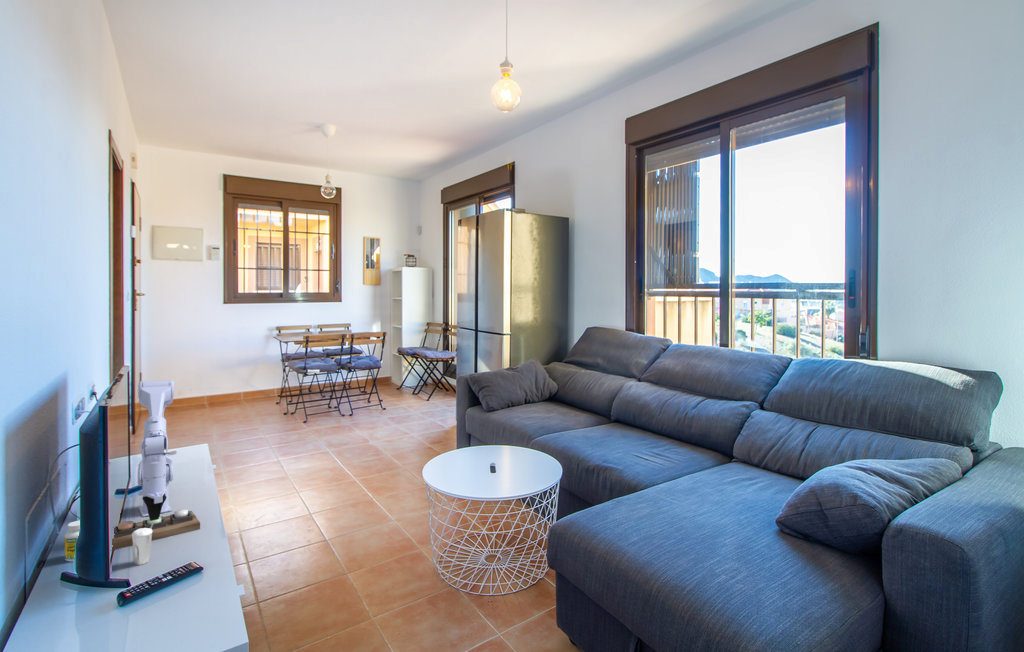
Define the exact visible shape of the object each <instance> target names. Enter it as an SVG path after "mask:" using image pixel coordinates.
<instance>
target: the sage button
mask: <svg viewBox="0 0 1024 652" xmlns="http://www.w3.org/2000/svg"><path fill="white" fill-rule="evenodd" d="M161 517H162V516H160V517H159V519H157V520H153V521H151V520H150V518H148V519H146V520H147V525H151V524H152V522H154V523H153V524H155V523H160V522H161Z"/></svg>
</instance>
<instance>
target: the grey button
mask: <svg viewBox="0 0 1024 652" xmlns="http://www.w3.org/2000/svg"><path fill="white" fill-rule="evenodd" d="M188 511H189V510H188V509H187V508H185V509H184V508H183V509H182V508H181V509H178V510H176V511H174V513H173V514H174V518H175V519H177V518H182V517H186V516H188Z"/></svg>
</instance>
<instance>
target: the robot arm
mask: <svg viewBox="0 0 1024 652" xmlns="http://www.w3.org/2000/svg"><path fill="white" fill-rule="evenodd" d="M174 382H175V381H174V380H173V379H170V380H169V379H166V380H151V381H148V380H146V381H143V380H140V381H139V382H138V385H137V387H138V388H137V391H138V392H137V394H138V396H137V398H138V403H139V404H140V406H141V407H145V408H146V409H147V411H148V418H147V419H145V421H144V422H143V439H141V443H140V444H141V445H140V446H141V447H140V449H141V450H140V451H141V452H140V453H141V458H142V460H140V461H139V463H138V464H137V465H138V467H137V485H138V486H139V487H141V489H142V490H139V491H137V495H138V496H139V497H140V496H142V497H141V499H142V506H139V507H138V510H139V512H140V514H141V515H142V516H141V517H148V519H150V520H151V521H153V520H157V519H159V517H161V514H162V513H163V514H164V513H168V512H171V511H172V507H171V506H170V504H169V503H170V502H169V501H170V500H169V499H170V498H169V497H170V496H169V495H170V494H169V492H170V490H169V489H170V488H169V486H170V485H169V484H170V483H171V482H173V480H174V459H173V458H172V457H170V456H168V455H167V453H168V449H169V446H168V445H169V443H168V442H169V440H168V439H169V438H168V435H167V433H168V432H167V419H166V418H165V415H164V414H165V411H166V407H168V406H170V405H171V404H173V401H174V397H175V395H174V394H175V383H174Z"/></svg>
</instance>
